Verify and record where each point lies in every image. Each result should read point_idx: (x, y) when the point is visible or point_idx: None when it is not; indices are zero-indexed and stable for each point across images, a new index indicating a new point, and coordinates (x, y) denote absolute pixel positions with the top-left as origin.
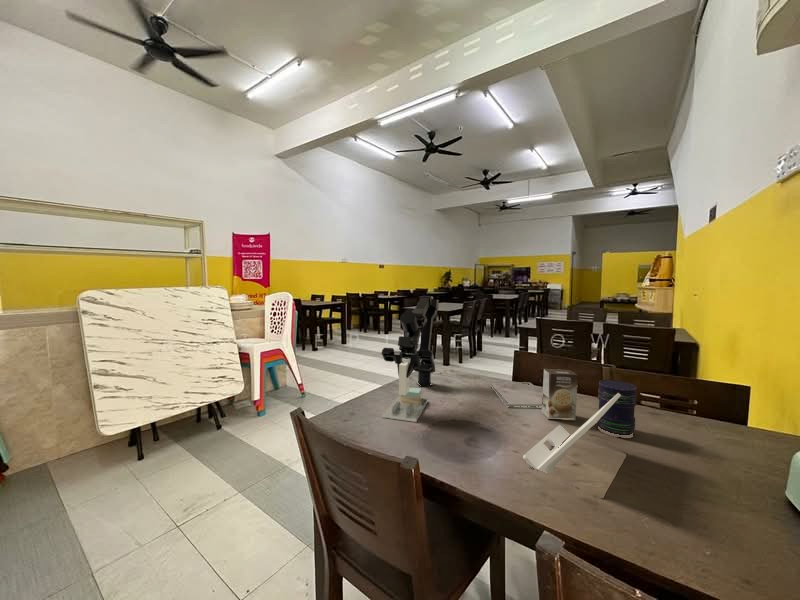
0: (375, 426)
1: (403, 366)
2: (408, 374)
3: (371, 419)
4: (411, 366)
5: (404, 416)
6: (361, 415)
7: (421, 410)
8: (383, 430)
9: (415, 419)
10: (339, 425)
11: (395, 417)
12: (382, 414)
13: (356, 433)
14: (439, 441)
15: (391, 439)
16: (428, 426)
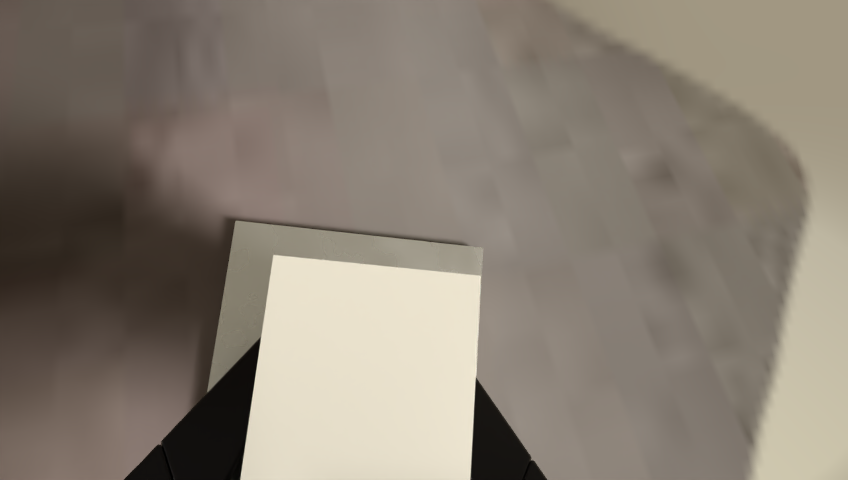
0: (480, 129)
1: (349, 265)
2: (258, 344)
3: (532, 212)
4: (145, 474)
5: (327, 249)
6: (608, 255)
7: (207, 390)
8: (423, 90)
9: (242, 222)
10: (665, 112)
11: (388, 238)
12: (482, 250)
13: (549, 42)
14: (76, 7)
15: (356, 3)
16: (149, 179)
